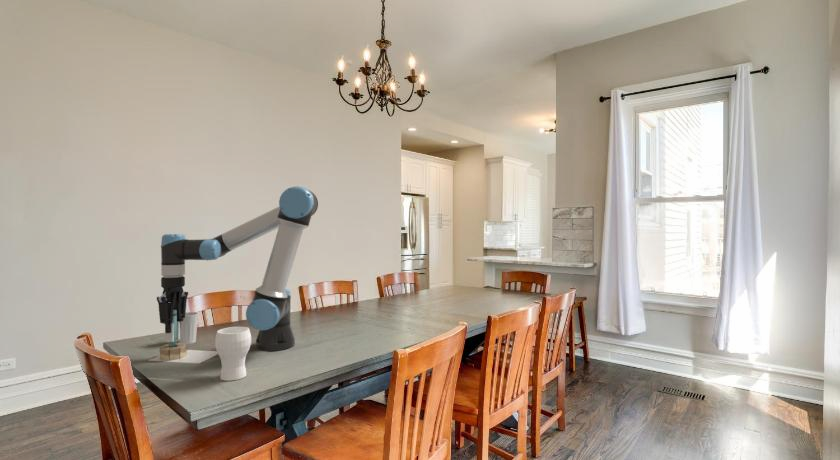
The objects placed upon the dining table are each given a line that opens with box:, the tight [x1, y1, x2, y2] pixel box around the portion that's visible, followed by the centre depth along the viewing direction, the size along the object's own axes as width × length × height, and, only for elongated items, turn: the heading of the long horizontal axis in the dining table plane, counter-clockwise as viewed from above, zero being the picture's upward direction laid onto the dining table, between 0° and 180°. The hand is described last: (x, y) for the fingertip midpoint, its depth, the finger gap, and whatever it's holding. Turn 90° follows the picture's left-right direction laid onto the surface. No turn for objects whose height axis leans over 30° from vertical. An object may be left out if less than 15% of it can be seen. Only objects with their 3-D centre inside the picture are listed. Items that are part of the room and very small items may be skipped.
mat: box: [148, 349, 219, 364], centre depth 157 cm, size 20×14×1 cm
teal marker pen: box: [168, 310, 178, 348], centre depth 155 cm, size 2×2×15 cm
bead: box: [159, 342, 188, 361], centre depth 155 cm, size 8×8×4 cm
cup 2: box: [214, 326, 252, 382], centre depth 136 cm, size 11×11×15 cm
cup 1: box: [178, 311, 199, 345], centre depth 175 cm, size 8×8×12 cm
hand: (172, 340), depth 155 cm, fingers closed on teal marker pen, 2 cm apart
